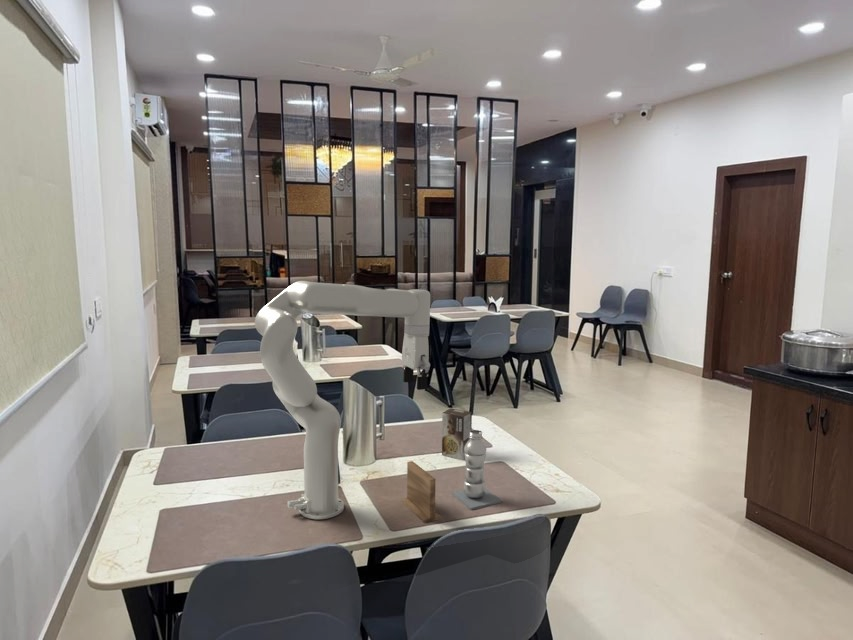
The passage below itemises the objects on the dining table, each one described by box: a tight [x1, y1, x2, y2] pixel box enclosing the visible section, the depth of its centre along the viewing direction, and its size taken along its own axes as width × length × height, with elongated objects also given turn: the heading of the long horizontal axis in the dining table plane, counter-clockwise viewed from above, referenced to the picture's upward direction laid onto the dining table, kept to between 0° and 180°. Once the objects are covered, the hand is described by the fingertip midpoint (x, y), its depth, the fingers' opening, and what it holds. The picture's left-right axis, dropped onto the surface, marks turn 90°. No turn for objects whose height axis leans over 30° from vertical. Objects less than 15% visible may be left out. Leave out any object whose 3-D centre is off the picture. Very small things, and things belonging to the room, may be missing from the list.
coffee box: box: [441, 408, 473, 461], centre depth 201 cm, size 9×6×16 cm
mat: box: [450, 488, 503, 511], centre depth 168 cm, size 11×11×1 cm
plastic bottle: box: [463, 429, 487, 498], centre depth 167 cm, size 6×7×20 cm
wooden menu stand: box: [401, 460, 441, 523], centre depth 160 cm, size 5×14×12 cm, turn 28°
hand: (414, 385), depth 172 cm, fingers open, 9 cm apart
